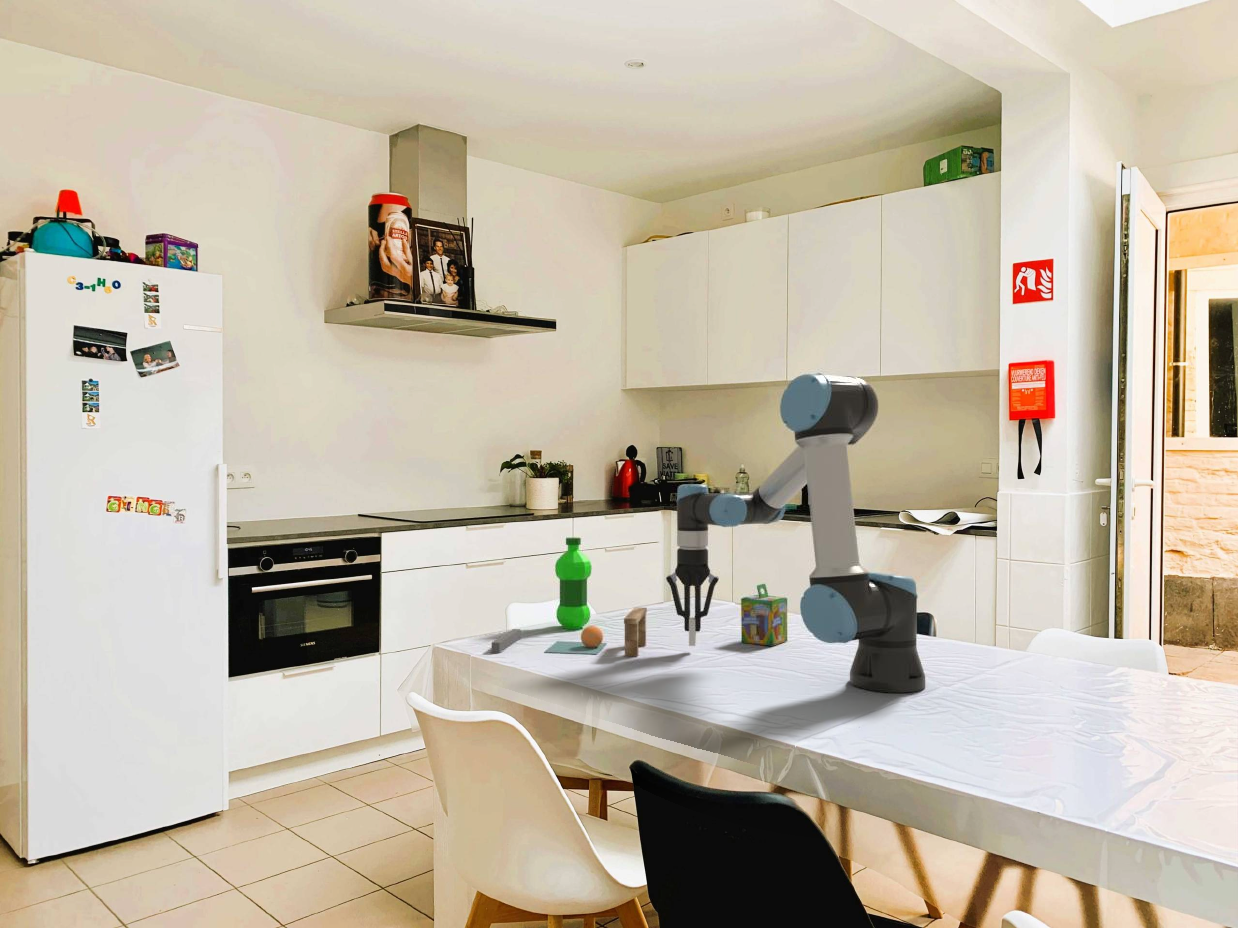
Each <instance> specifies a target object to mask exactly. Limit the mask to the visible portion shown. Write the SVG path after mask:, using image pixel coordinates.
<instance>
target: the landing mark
mask: <svg viewBox="0 0 1238 928" xmlns="http://www.w3.org/2000/svg"><path fill="white" fill-rule="evenodd" d="M607 644H608V643H607V642H602V643H601V644H600V645H599V646H598V647H596V648H588V647H586V646H585V645H584V644H583V643H582V641H581V642H580V641H561V640H560V641H558V640H557V641H556V642H554V643H553V644H552V645H551V646H549V647H548V648H547V649H546V650H544V651H543V652H544V654H547V653H548V654H569V655H570V654H573V655H592V656H593V655H594V656H595V655H598V654H599V653H600V652H601V651H602V650H603V649H604V647H606V646H607Z"/></svg>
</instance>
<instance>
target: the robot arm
mask: <svg viewBox="0 0 1238 928" xmlns="http://www.w3.org/2000/svg"><path fill="white" fill-rule="evenodd" d="M779 404H780V405H779V412H780V417H781V418H780V419H781V421H782V422H783V424H785V426H786V427H787V429H789V430H791V431H793V433H794V441H795V442H794V443H795V445H797V447H796V448H795V449H794V450H793V451H792V452H790V454H789V455H788V456H787V457H786V458H785V459H784V460H783V461H782V462H780V464H779V465H778V466H777V467H776V468H775V469H774V470H773V472H772V473H770V475H768V477H767V478H765V480H764V481H763V482H761V484H760V485H759V486H758V487H757V488H755V490H754V491H752V492H740V493H739V492H738V493H737V492H735V493H733V492H732V493H731V492H730V493H728V492H727V493H710V492H709V487H708V485H706V484H699V483H698V484H697V483H696V484H692V483H691V484H689V483H688V484H681V485H679V486H678V487H677V494H676V501H675V502H676V524H677V525H676V526H677V527H676V529H677V530H676V545H677V547H679V548H677V550H676V568H675V570H674V572H673V573H671V574H668V575H667V576H666V577H665V579H666V582H667V583H668V585H669V586H670V589H671V593H672V594H671V595H672V598H673V603H674V607H675V610H676V614H677V615H678V616H680V617H682V618H683V620H684V622H683V623H684V627H683V629H684V631H685V632H688V646H689V647H690V646H691V647H692V646H693V647H695V646H697V633H698V632H700V631H701V630H702V629H701V627H702V626H701V625H702V624H701V623H702V622H701V620H702V618H704V617H707V616H708V613H709V611H710V606H711V602H712V598H713V594H714V590H715V587H716V585H717V583H718V582H719V579H720V578H719V576H717V575H715V574H713V573H712V572H711V569H710V567H709V550H708V548H707V547H708V546H709V526H719V527H723V528H731V527H732V528H733V527H737V526H739V525H743V526H744V525H758V524H759V525H761V524H763V525H767V524H771V523H777V522H779V521H781V520H782V519H783V517H784V515H785V512H786V505H787V503H789V501H791V500H792V499H793V497H795V496H796V495H797V494H798V493H799V492H800V491H801V490H802V489H803V488H804V487H805V486H806V485H807V493H808V494H807V495H808V505H809V512H810V523H811V532H812V541H813V553H814V562H815V563H814V564H815V567H814V569H813V571H812V572H811V573H810V574H809V575H808V576H809V587H808V588H807V589H806V590H805V591H804V592H803V595H802V597H801V598H800V603H799V604H800V605H799V609H800V615H801V618H802V621H803V623H804V626H805V627H806V629H807V630H808V631H809V633H811V634H812V635H813V636H814V638H815V639H817V640H819V641H821V642H823V643H827V644H837V643H838V644H846V643H849V642H852V641H858V645H857V649H856V652H855V654H854V655H855V656H854V657H853V662H852V664H851V667H850V669H849V670H850V671H849V683H850V684H851V685H852V686H855V687H858V688H860V689H863V690H867V691H874V692H881V693H900V694H901V693H913V692H918V691H922V690H924V689H925V688H926V674H925V671H924V667H923V664H922V661H921V658H920V655H919V652H918V648H917V631H918V628H917V615H918V614H917V613H918V611H917V608H918V607H917V605H918V601H917V600H918V597H919V596H918V593H917V583H916V581H915V579H914V578H913V577H910V576H905V575H897V574H889V573H881V572H871V571H868V570H867V569H866V568H865V567H863V566H862V565H861V563H860V558H859V557H860V556H859V548H858V539H857V538H858V537H857V531H856V530H857V529H856V521H855V511H854V503H853V494H852V493H853V492H852V483H851V473H850V468H849V467H850V464H849V455H848V447H847V446H854V445H855V444H857V443H858V442H859V441H860V440H861V439H862V438H863V437H864V436H865V435H866V434H867V433H868V432H869V431H870V429H871V428H872V426H873V425H874V424H875V421H876V418H877V416H878V412H879V399H878V395H877V393H876V391H875V390H874V388H873V387H872V386H871V384H870V383H868V382H867V381H865V380H863V379H862V378H859V377H856V376H851V375H850V376H847V375H844V376H843V375H833V374H824V373H820V372H817V373H811V374H810V373H808V374H807V373H805V374H801V375H799V376H796V377H795V378H794V379H792V380H791V381H790V382H789V383H788V385H787V387H786V389H784V391H783V393H782V395H781V399H780V403H779ZM707 579H708V583H709V586H708V590H707V593H706V597H705V601H704V604H703V605H704V606H703V610H702V605H701V604H702V602H701V601H702V599H701V598H702V585H703V584H704V582H705V581H706V580H707ZM677 580H680V583H681V584H682V585H683V590H684V593H683V595H684V596H683V597H684V598H683V599H684V602H683V604H684V605H682V602H681V597H680V594H679V589H678V586H677V585H678V584H677ZM691 587H694V616H691ZM683 608H684V609H683Z"/></svg>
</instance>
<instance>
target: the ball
mask: <svg viewBox="0 0 1238 928" xmlns="http://www.w3.org/2000/svg"><path fill="white" fill-rule="evenodd" d="M580 639H581V642H582V643H583V644H584V645H585V646H586V647H588V648H596V647H598V646H599V645H600V644H601V643H603V639H604V633H603V632H602V630H601V628H599V626H595V625H589V626H586V627H585V628H584V629H582V631H581V634H580Z"/></svg>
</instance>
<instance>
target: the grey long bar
mask: <svg viewBox="0 0 1238 928" xmlns="http://www.w3.org/2000/svg"><path fill="white" fill-rule="evenodd" d="M521 635H522V634H521V628H512V629H511V630H509V631H508V632H506V633H504V634H503V635H501V636H499V637H498V638H496V639H495V640H493V641H491V653H492V654H500V653H502V652H503V651H505V650H506V649H508V648H509V647H511V646H512V645H513V644H515V643H517V642H518V641H519V640H521Z"/></svg>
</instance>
